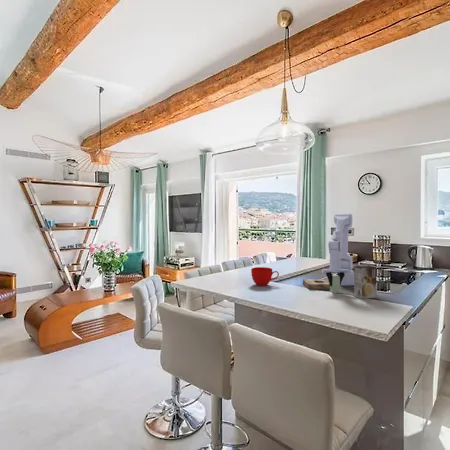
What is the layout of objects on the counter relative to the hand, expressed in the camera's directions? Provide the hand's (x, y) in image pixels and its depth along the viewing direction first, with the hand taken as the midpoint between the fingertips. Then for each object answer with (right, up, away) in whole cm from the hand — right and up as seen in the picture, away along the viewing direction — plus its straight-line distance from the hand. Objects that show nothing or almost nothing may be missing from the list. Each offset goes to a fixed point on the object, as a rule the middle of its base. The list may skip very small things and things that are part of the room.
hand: (334, 285), depth 175 cm
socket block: (-5, -3, +13) cm, 14 cm away
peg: (0, -3, 0) cm, 3 cm away
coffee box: (+12, -4, -11) cm, 17 cm away
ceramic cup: (-37, -3, +18) cm, 41 cm away
